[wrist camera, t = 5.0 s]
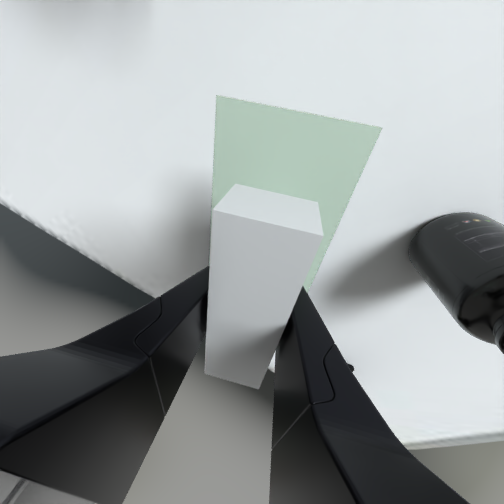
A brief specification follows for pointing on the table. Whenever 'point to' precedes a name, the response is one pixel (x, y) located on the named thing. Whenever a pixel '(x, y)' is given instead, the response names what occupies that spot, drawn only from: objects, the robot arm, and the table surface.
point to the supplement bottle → (465, 270)
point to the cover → (271, 223)
